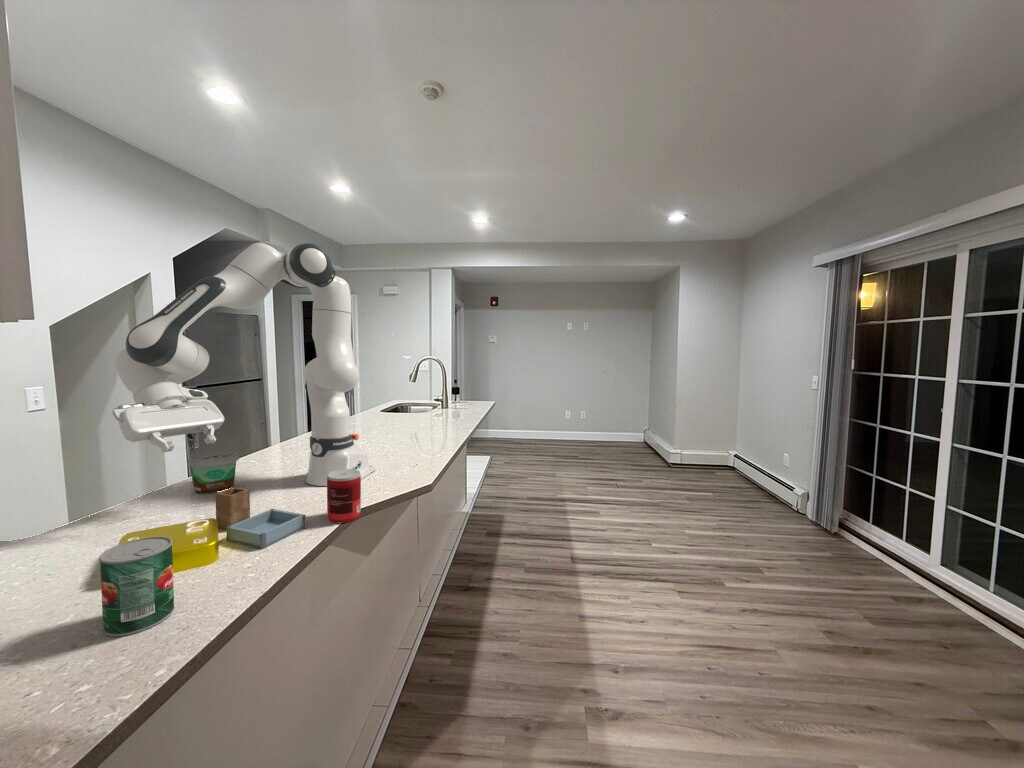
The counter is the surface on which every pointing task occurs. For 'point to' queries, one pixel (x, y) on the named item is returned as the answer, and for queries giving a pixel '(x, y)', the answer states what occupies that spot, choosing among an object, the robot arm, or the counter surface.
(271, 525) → the slate tray
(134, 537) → the element tile
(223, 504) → the walnut tube
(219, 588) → the counter surface
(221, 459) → the food container
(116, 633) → the canned tomato
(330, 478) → the canned food
